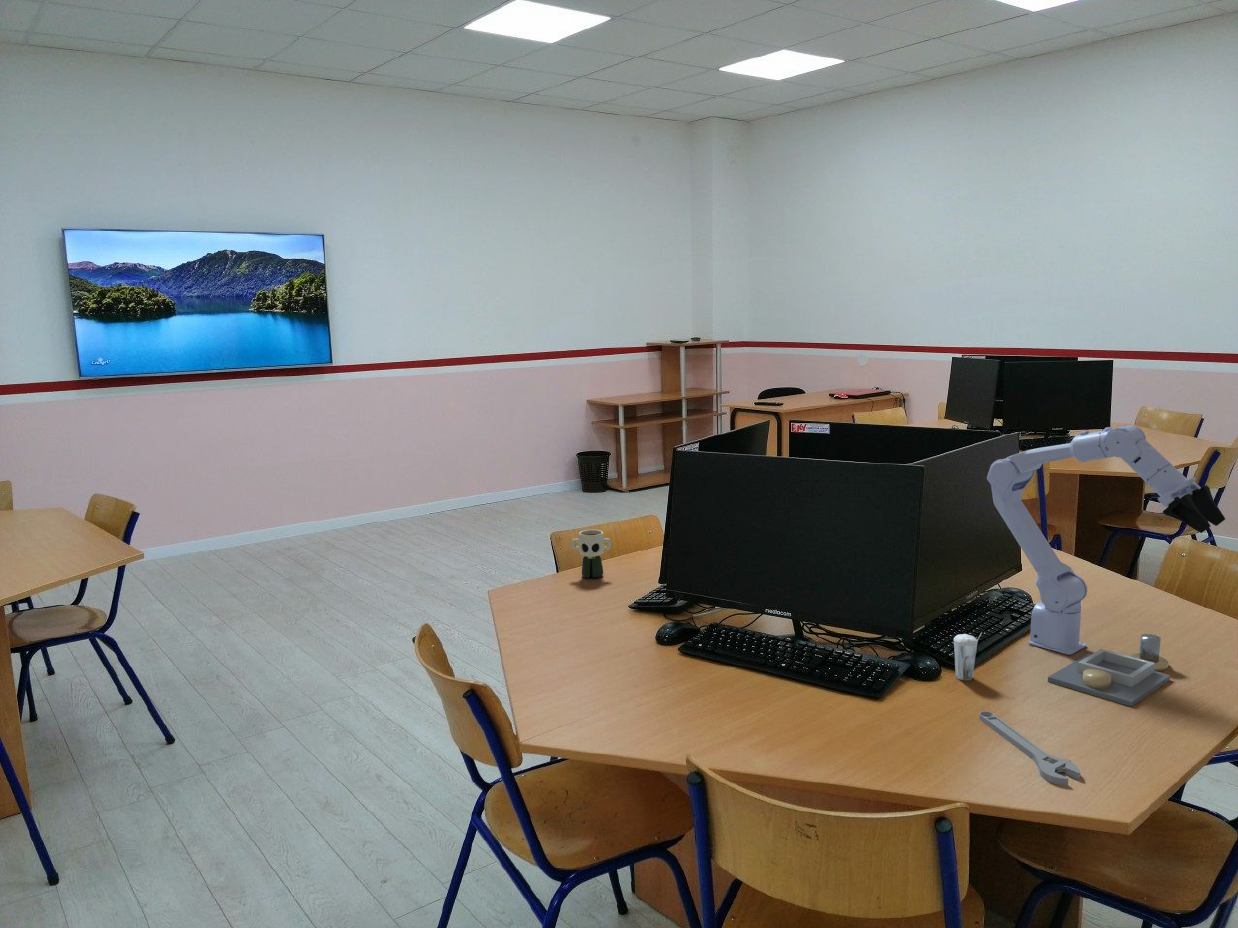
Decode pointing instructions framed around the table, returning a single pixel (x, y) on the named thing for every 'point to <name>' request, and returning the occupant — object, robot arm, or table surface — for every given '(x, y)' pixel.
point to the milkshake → (965, 656)
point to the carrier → (1111, 677)
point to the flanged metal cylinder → (1151, 651)
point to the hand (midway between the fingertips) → (1213, 526)
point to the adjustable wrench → (1033, 751)
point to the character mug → (591, 551)
